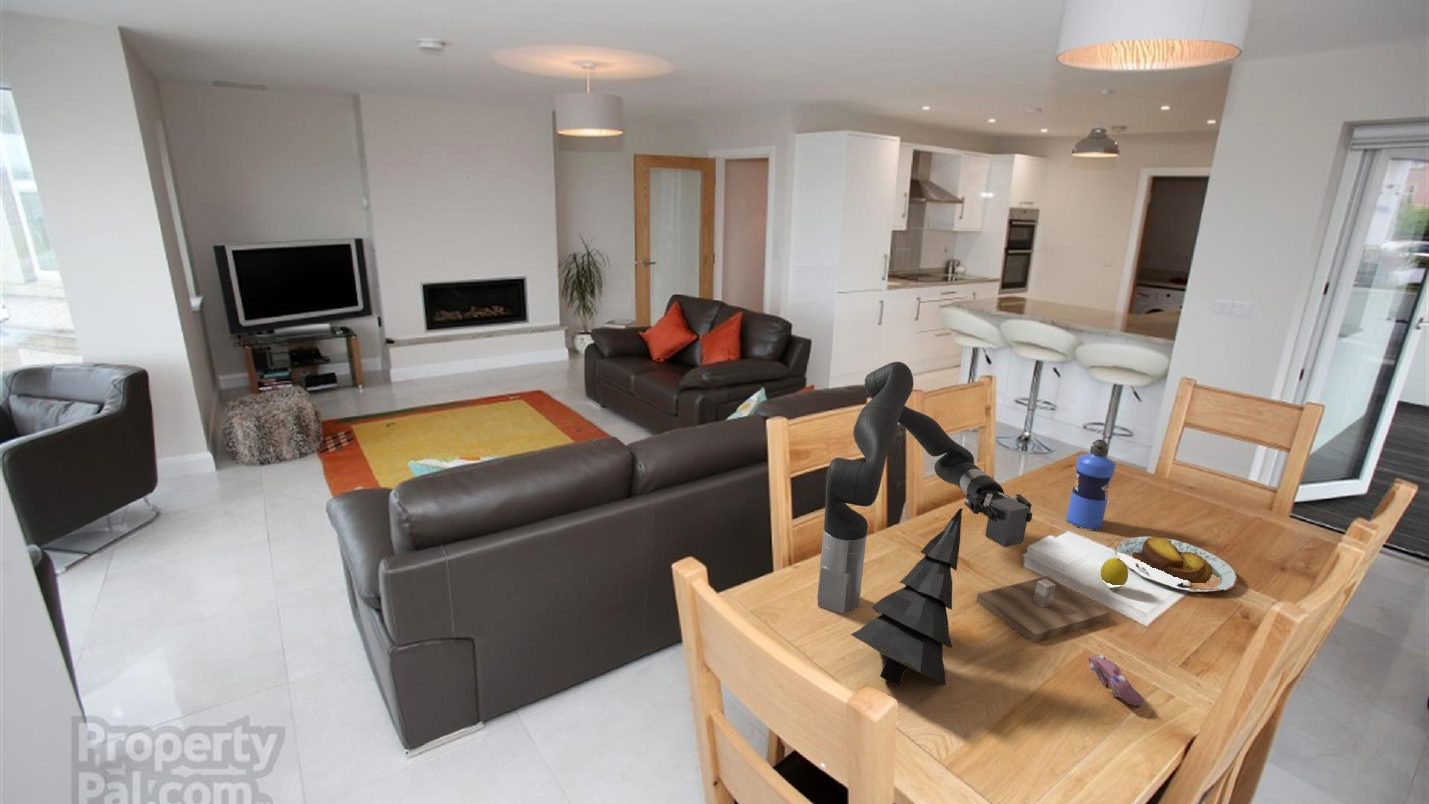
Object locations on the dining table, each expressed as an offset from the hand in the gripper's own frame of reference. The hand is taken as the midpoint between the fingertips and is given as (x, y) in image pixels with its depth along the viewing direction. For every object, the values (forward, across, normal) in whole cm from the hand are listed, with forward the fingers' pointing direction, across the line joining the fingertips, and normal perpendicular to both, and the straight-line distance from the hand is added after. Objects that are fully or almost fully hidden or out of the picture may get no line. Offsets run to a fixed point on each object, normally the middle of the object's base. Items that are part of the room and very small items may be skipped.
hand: (1012, 518), depth 155 cm
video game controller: (+35, +4, +18) cm, 40 cm away
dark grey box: (-2, 0, +6) cm, 7 cm away
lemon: (+1, +27, +18) cm, 32 cm away
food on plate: (-8, +49, +18) cm, 52 cm away
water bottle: (-33, +41, +18) cm, 56 cm away
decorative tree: (+27, -31, +18) cm, 45 cm away
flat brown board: (+10, +4, +18) cm, 21 cm away
